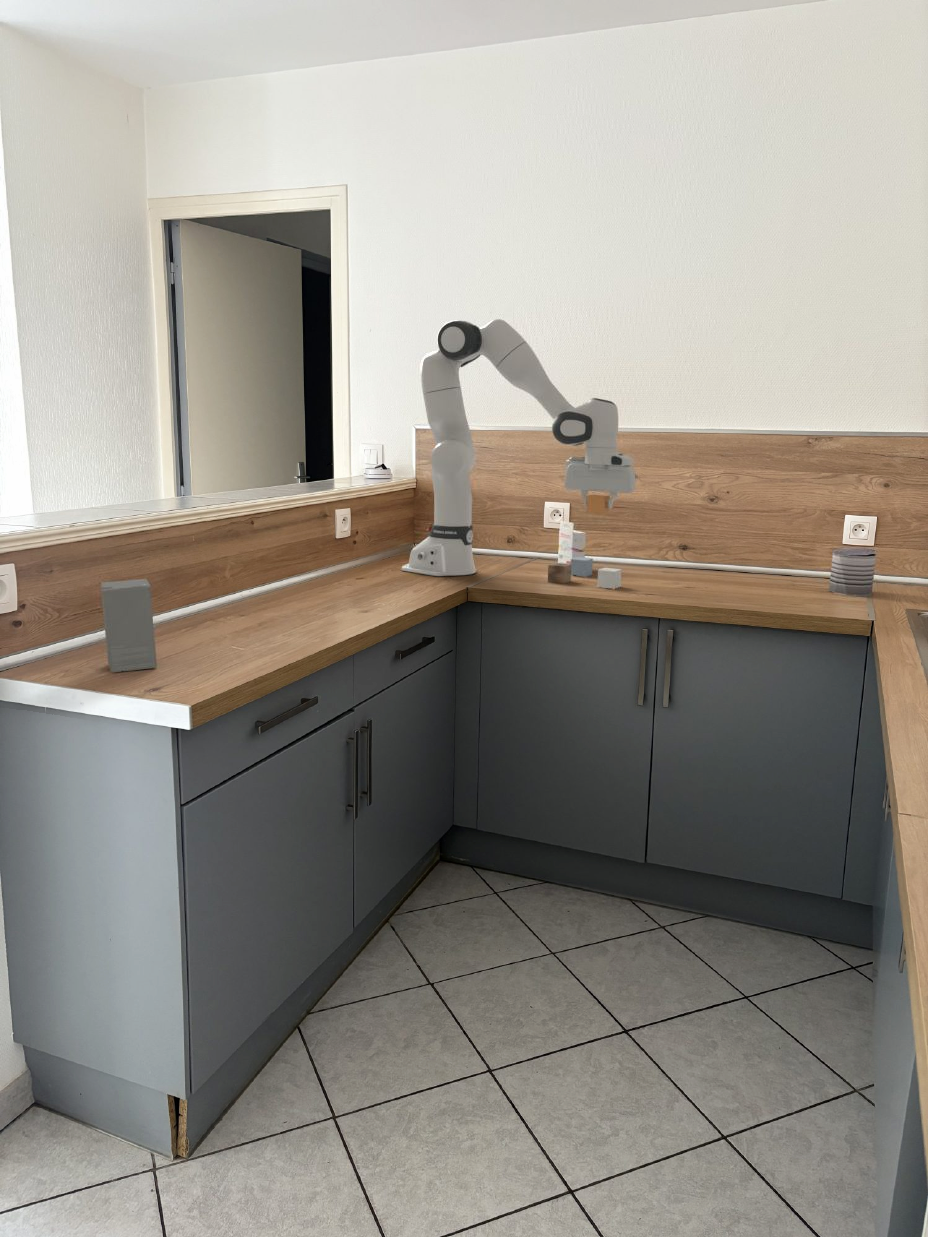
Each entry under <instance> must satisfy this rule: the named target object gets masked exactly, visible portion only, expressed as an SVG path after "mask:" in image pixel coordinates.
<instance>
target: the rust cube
mask: <svg viewBox="0 0 928 1237" xmlns="http://www.w3.org/2000/svg"><path fill="white" fill-rule="evenodd" d="M610 498H611V496H610V494H609V495H606V494H587V507H586V512H585V513H586V514H589V515H601V516H602V515H606V514H607V515H608V514H610V510H611V508H606V502H609V500H610Z"/></svg>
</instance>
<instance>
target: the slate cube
mask: <svg viewBox="0 0 928 1237" xmlns="http://www.w3.org/2000/svg"><path fill="white" fill-rule="evenodd" d="M593 562H594V559H593V557H592V558H589V557H585V558H582V557H576V558H573V559H571V575H577V576H576V577H579V576H582V578H588V577H590V576H592V575H593V564H594V563H593ZM589 575H590V576H589ZM587 576H588V577H587Z"/></svg>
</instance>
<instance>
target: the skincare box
mask: <svg viewBox="0 0 928 1237" xmlns="http://www.w3.org/2000/svg"><path fill="white" fill-rule="evenodd" d="M100 589H101V602H102V603H101V604H102V612H103V613H102V614H103V625H104V631H105V633H104V634H105V641H106V642H105V643H106V655H107V664H108V667H109V668H108V669H109V671H111V672H110V673H111V674H113V673H121V672H122V671H123V672H130V671H138V670H139V671H141V670H147V669H148V670H150V669H155V668H157V666H158V664H157V652H156V650H157V649H156V641H155V640H156V639H155V627H154V618H153V604H152V593H151V592H152V588H151V585H150V583H149V581H148V580H147V578H141V579H140V578H138V579H130V580H118V581H106V582H105V581H101V582H100Z"/></svg>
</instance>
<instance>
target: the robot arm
mask: <svg viewBox="0 0 928 1237" xmlns="http://www.w3.org/2000/svg"><path fill="white" fill-rule="evenodd" d="M436 343H437V347H438V350H436V351H432V352H429V353H427V354H426V355H425V356H424V357H423V358H422V360H421V362H420V380H421V389H422V394H423V395H422V396H423V400H424V407H425V412H426V417H427V418H426V419H427V422H428V424H429V427H430V429H431V433H432V437H433V439H434V442H435V447H434V448H433V450H432V452H431V454H430V466H431V479H432V488H433V496H434V501H433V502H434V506H433V507H434V508H433V509H434V511H433V513H434V515H433V516H434V517H433V521H434V523H433V524H432V525H430V526H426V530H425V531H426V532H428V531H429V534H428V537H426V538H425V539H423V540H422V541H420V543H418V544H417V545H416V546H414V547H413V548H412V549H411V551H410V554H409V558H408V559H409V560H408V563H406V564H404V565H402V566H401V571H405V572H410V573H415V574H422V575H426V576H427V575H428V576H433V577H444V576H445V577H446V576H467V575H472V574H475V573H477V571H476V566H475V561H474V557H473V556H474V555H473V547H472V546H473V545H472V544H473V539H474V537H473V536H474V527H473V524H472V520H473V519H472V517H473V516H472V514H473V513H472V512H473V509H472V508H473V507H472V506H473V496H472V491H471V490H472V488H471V478H470V477H471V474H470V472H471V471H472V470H473V468H474V466H475V464H476V461H477V456H476V451H475V445H474V441H473V437H472V434H471V430H470V427H469V423H468V422H469V421H468V418H467V415H466V410H465V403H464V398H463V392H462V388H461V387H462V386H461V381H460V373H459V372H460V368H462V367H465V366H467V365H468V364H471V363H472V362H474V361H475V360H477V359H478V358H479V357H481V356H484V357H485V358H486V359H487V360H489V362H490V363H492V365H493V366H494V368H495V369H496V370H497V371H498V372H499V374H500V375H501V376H502V377H503V378H504V379H505V380H506V381H507V382H509V384H511V385H512V386H514V387H515V388H518V389H519V390H522V391H523V392H525V393H528V394H529V395H530V396H531V397H533V398H535V399H536V401H537V402H538V403H539V404H540V405H541V407H543V409H544V410H545V411H546V413H547V414H548V415H549V416H550V417H551V418H552V419H553V422H552V425H551V426H552V427H551V430H552V431H551V432H552V434H553V436H554V438H555V439H556V441H558V442H559V443H561V444H563V445H565V446H573V447H577V446H582V445H583V444H585V448H584V449H585V450H584V456H580V457H579V456H570V457H569V458H568V459H567V460H565V461H566V462H565V471H566V472H565V475H564V484H563V485H564V488H565V489H566V490H570V491H580V496H581V497H582V499H583V507H585V508H587V496H588V495H589V492H591V491H592V492H604V493H609V495H610V500H609V502H606V508H610V509H612V508H613V507H614V506H613V505H614V504H613V503H614V502H615V499H616V498H617V497H618V493H621V494H631V493H633V492H634V491H635V490H636V472H635V469H634V467H633V466H632V465H633V464H634V458H633V457H631V456H629V455H626V454H624V453H621V452H618V444H617V436H618V433H619V410H618V406H617V404H615V403H614V402H613V401H611V400H608V399H607V400H606V399H603V398H597V397H592V398H590V399H589V400H588V401H587V402H584V403H583V404H581V405H579V406H576V407H574V406H572V405H571V404H570V402H569V401H568V400H567V399H566V398H565V396H564V395H562V393H561V392H560V391H559V390H558V388H557V387H556V386H555V385H554V384H553V382H552V381H551V380H550V378H549V376H548V375H547V373H546V371H545V369H544V367H543V365H542V364H541V363H542V362H541V361H540V359H539V358H538V356H537V355H536V353H535V351H534V350H533V349H532V347H531V346H530V345H529V343H528V342H527V341H526V339H525V338H524V337H523V336H522V335H521V334H520V333H519V332H518V331H517V330H516V329H515V328H513V327H512V325H510V324H509V323H508V322H506V321H505V320H503V319H497V318H496V319H493V320H490V321H488V323H486V324H485V325H484V326H482V327H479V326H478V325H476V324H473V323H471V322H469V321H466V320H458V319H457V320H451V321H449V322H446V323H445V324H443V326H441V327H440V329H439V331H438V333H437V337H436Z"/></svg>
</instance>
